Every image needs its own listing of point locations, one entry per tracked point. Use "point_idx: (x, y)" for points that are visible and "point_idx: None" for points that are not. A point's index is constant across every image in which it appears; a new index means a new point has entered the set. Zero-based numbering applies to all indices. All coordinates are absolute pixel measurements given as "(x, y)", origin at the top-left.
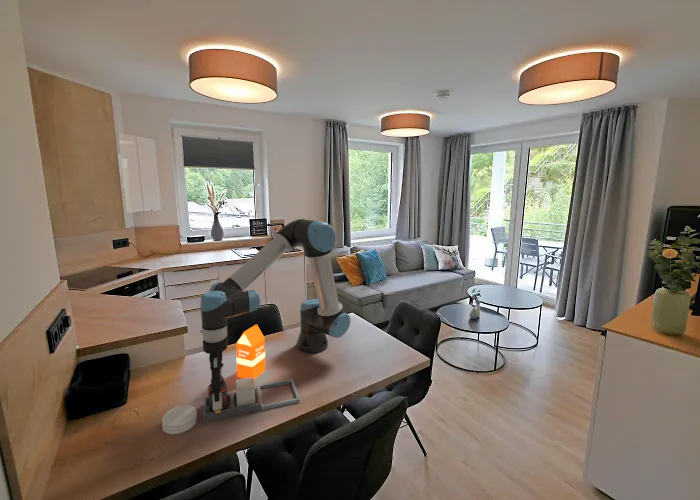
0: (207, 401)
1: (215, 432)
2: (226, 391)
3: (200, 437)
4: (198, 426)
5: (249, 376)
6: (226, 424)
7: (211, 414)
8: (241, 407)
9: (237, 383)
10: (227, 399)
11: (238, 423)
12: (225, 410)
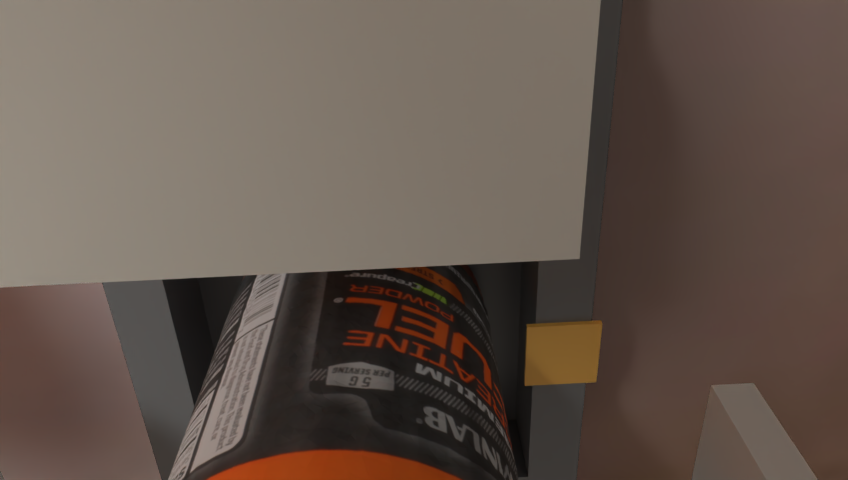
0: None
1: (794, 302)
2: (395, 408)
3: (788, 425)
4: (600, 457)
5: None
6: (713, 192)
7: (580, 415)
8: (602, 3)
9: (237, 237)
10: None
11: (777, 31)
12: (575, 262)
